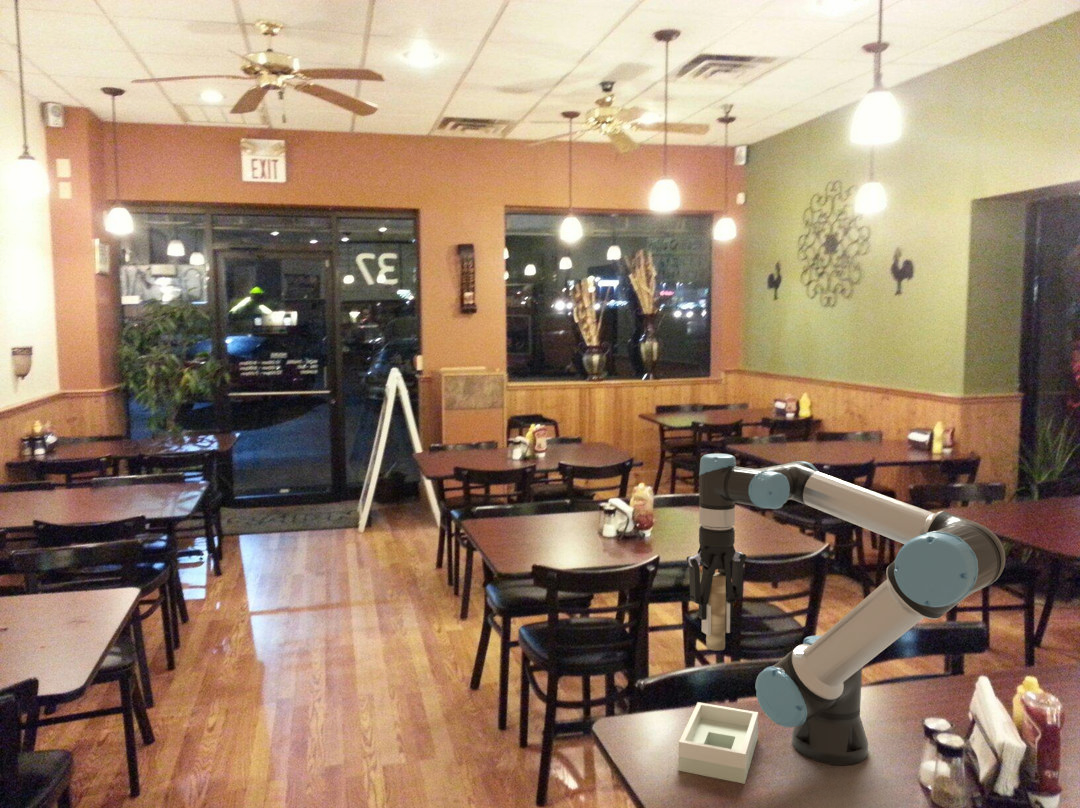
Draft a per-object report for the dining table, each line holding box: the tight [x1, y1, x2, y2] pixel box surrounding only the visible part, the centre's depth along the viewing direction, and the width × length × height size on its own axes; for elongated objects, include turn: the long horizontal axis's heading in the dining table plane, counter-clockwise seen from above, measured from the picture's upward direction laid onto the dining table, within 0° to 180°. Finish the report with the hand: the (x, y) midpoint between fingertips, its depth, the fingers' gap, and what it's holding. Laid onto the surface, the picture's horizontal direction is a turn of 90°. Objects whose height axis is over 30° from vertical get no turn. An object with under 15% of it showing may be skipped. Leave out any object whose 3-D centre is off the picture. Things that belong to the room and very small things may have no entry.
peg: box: [705, 571, 726, 652], centre depth 179 cm, size 4×4×16 cm
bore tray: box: [678, 701, 759, 785], centre depth 171 cm, size 13×19×6 cm
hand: (715, 631), depth 179 cm, fingers closed on peg, 4 cm apart
